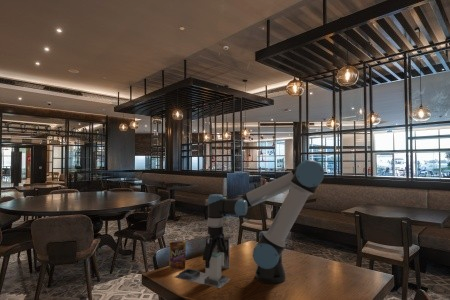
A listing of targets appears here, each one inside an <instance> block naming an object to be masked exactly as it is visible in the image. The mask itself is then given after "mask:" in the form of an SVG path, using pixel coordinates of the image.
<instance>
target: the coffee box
mask: <svg viewBox="0 0 450 300" xmlns="http://www.w3.org/2000/svg"><path fill="white" fill-rule="evenodd" d="M224 240H225V244H226V252H224V266H221V269H228V270H229V269H230V266H231V263H230V260H231V259H230V257H231V256H230V249H231V248H230V247H231V246H230V242H231V241H230V240H231V239H230V236H224ZM213 252H215V253H219V252H220V251H219V248H218V246H217V245H216V247H215V248H214V250H213Z"/></svg>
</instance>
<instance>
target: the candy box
mask: <svg viewBox="0 0 450 300" xmlns="http://www.w3.org/2000/svg"><path fill="white" fill-rule="evenodd" d="M186 246H187V240H186V239H183V240H182V239H179V240H176V239H174V240H173V239H172V240H171V239H170V240H169V261H168V270H169V271H170V270H186V257H187V256H186V253H187V247H186Z"/></svg>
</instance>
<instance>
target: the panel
mask: <svg viewBox="0 0 450 300" xmlns="http://www.w3.org/2000/svg"><path fill="white" fill-rule="evenodd" d="M174 278H176V279H179V280H184V281H189V282H192V283H196V284H200V285H201V284H202V285H206V286H210V287H214V288H216V289H218V290H220V289H221V288H222V287H223V286H224V285H226V284H227V283H228V282H229V281H231V278H230V277H226V276H225V275H221V279H220V280H218V281H215V280H210V279H209V275H207V274H205V272H202V271H200V270H196V269H194V268H185V269H183V270H182V271H180V272H179V273H178V274H177V275H175V276H174Z"/></svg>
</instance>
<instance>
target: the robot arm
mask: <svg viewBox="0 0 450 300" xmlns="http://www.w3.org/2000/svg"><path fill="white" fill-rule="evenodd" d="M324 178H325V170H324V167H323V166H322V164H321V163H320V162H318V161H317V160H313V159H307V160H306V159H305V160H303V161H301V162H300V163H299V164H298V165H297V166H296V167H294V168H292V169H290V171H289V173H287V174H284V175H283V176H280V177H278V178H275V179H273V180H272V181H270V182H267V183H265V184H263V185H261V186H259V187H256V188H254V189H252V190H250V191H247V192H246V193H244V194H242V195H239V196H236V197H235V198H232V199H231V198H224V195H223V194H220V193H218V194H217V193H215V194H213V193H212V194H209V196H208V198H207V199H208V200H207V234H208V235H209V238H206V239H205V247H204V252H203V254H202V255H203V256H202V261H204V262H205V265H204V266H205V267H204V269H205V271H204V273H205V274H207V275H211V260H210V259H211V256H212V253H213V250H214V248H215V247H216V245H217V246H218V248H219V251H220V252H219V253H220V254H221V266H224V252H226V244H225V240H224V237H225V234H224V227H223V226H224V215H228V216H231V215H232V216H239V217H240V216H246V215H247V213H248V209H250V208H252V207H254V206H256V205H259V204H261V203H263V202H265V201H267V200H270V199H272V198H273V197H276V196H279V195H281V194H283V193H285V192H288V193H287V195H286V196H285V198H284V200H283V202H282V204H281V206H280V208H279V209H278V211H277V213H276V215H275V217H274V219H273V221H272V223H271V224H270V226H269V228H268V230H264V231H263V230H262V231H260V232H259V234H258V240H257V244H256V246H254V248H253V250H252V258H253V260H254V262H255V264H256V265H257V266H256V270H255V278H256V279H257V280H258V281H260V282H263V283H266V284H280V283H283V282H285V280H286V279H287V278H286V275H287V274H286V271H285V268H284V265H283V251H285V248H286V243H285V242H286V241H285V240H286V239H287V237H288V235H289V234H290V231H291V229H292V227H293V226H294V224H295V222H296V221H297V219H298V216H299V215H300V213H301V211H302V210H303V207H304V206H305V204H306V203H307V200H308V198H309V197H310V196H312V195H314V194H315V192H316V191H317V189H318V188H319V185H320V184H321V183H322V182H323V180H324Z"/></svg>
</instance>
